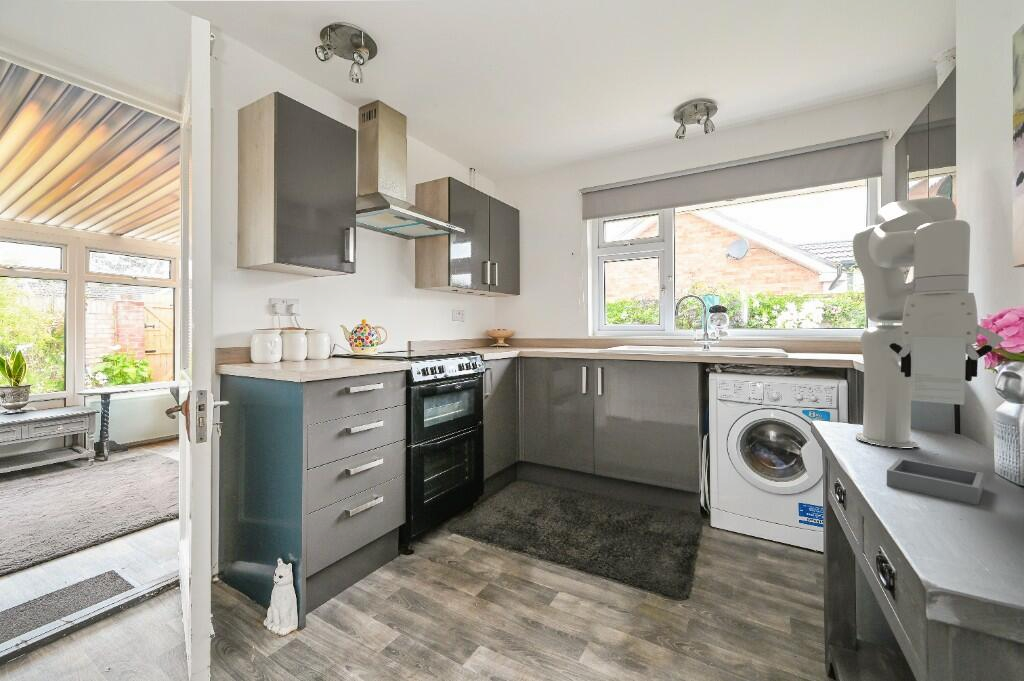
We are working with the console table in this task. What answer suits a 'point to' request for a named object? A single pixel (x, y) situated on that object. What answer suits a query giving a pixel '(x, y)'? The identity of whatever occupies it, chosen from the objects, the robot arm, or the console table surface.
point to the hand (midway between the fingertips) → (937, 378)
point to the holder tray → (936, 480)
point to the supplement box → (938, 369)
